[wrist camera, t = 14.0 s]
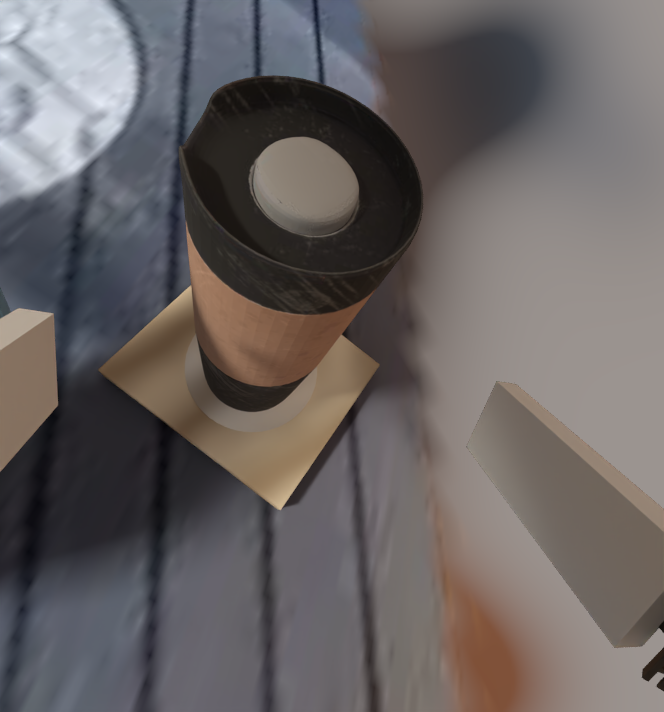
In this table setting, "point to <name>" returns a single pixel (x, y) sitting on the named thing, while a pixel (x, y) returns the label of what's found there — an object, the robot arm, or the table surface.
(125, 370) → the coaster board
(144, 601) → the table surface
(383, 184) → the travel mug
